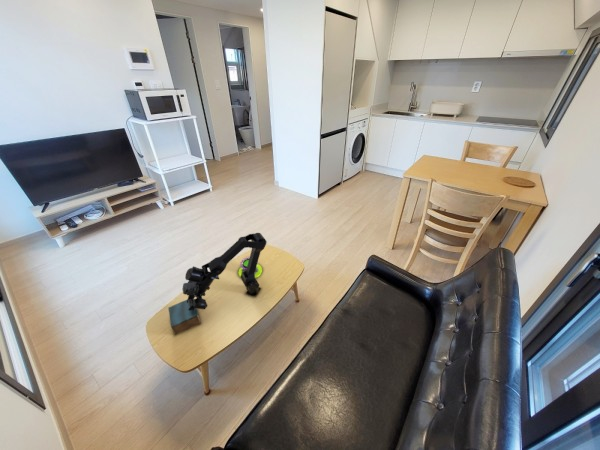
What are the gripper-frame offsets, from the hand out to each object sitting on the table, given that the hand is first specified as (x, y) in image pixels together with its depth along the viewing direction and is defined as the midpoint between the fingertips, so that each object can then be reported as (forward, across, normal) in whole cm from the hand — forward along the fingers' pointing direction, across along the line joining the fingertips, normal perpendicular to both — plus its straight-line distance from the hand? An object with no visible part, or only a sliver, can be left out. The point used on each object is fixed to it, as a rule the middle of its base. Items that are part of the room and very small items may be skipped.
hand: (188, 306), depth 121 cm
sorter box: (+9, 0, +4) cm, 10 cm away
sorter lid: (+4, 0, -1) cm, 4 cm away
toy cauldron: (-20, -17, +34) cm, 43 cm away
